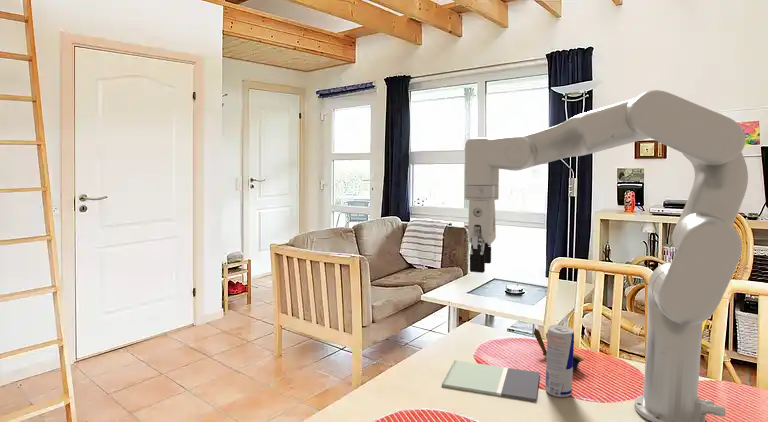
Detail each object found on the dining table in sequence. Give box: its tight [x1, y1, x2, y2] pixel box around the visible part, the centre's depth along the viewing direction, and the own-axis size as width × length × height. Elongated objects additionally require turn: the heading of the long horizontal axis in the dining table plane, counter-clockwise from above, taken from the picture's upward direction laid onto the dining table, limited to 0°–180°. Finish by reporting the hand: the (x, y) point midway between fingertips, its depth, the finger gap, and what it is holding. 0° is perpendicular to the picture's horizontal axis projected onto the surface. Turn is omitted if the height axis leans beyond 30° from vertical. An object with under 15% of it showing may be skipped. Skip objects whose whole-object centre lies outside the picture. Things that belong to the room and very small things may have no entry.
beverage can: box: [545, 324, 575, 398], centre depth 110 cm, size 6×6×15 cm
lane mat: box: [441, 359, 541, 402], centre depth 117 cm, size 21×14×1 cm, turn 70°
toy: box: [533, 327, 585, 372], centre depth 127 cm, size 9×6×15 cm
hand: (480, 267), depth 112 cm, fingers open, 9 cm apart
